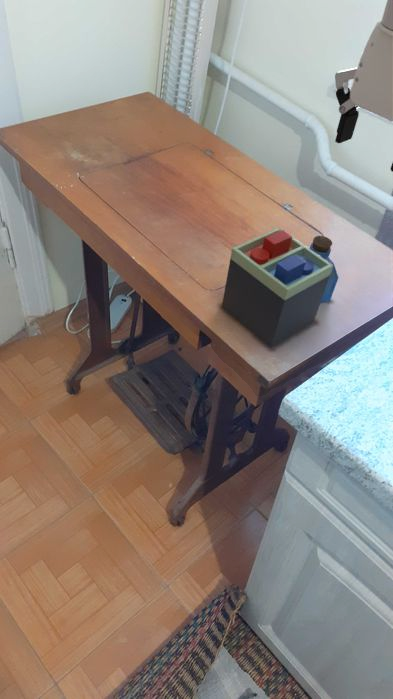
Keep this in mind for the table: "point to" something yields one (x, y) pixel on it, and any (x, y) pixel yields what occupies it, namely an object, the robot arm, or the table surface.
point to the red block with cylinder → (271, 247)
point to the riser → (269, 306)
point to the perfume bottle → (323, 249)
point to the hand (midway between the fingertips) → (369, 154)
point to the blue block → (293, 269)
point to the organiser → (268, 270)
